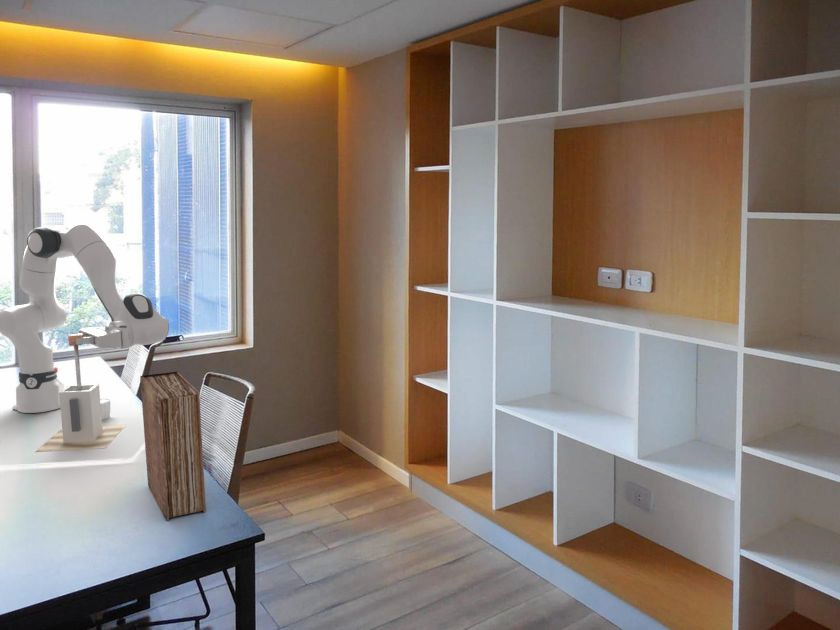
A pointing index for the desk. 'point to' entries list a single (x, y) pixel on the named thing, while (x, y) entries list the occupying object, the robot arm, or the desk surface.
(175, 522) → the desk surface
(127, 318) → the robot arm
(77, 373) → the plunger
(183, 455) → the book
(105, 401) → the shot glass
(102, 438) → the oak board
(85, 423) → the slotted white box
